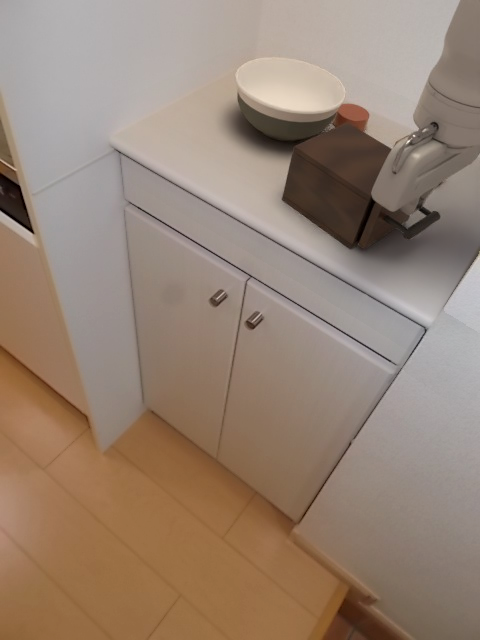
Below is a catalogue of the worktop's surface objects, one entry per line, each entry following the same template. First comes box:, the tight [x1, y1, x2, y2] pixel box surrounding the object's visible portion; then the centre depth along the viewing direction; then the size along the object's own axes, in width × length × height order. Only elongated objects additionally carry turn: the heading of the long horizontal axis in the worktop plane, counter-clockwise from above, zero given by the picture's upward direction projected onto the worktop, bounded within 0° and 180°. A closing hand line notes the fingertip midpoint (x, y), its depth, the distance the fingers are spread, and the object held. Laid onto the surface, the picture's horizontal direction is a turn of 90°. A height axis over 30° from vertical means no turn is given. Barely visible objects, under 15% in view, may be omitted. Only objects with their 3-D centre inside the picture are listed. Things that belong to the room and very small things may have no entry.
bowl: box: [234, 56, 347, 142], centre depth 90 cm, size 19×19×8 cm
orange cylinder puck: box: [332, 103, 371, 133], centre depth 95 cm, size 6×6×3 cm
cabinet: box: [281, 122, 393, 250], centre depth 76 cm, size 14×12×9 cm
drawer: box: [357, 199, 441, 250], centre depth 74 cm, size 17×11×7 cm, turn 44°
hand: (410, 209), depth 71 cm, fingers closed
